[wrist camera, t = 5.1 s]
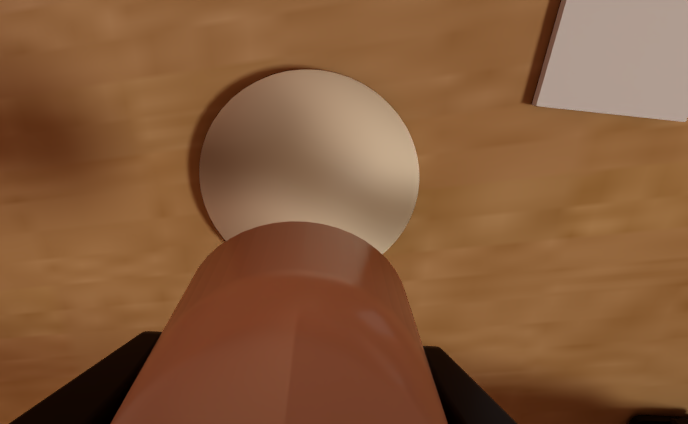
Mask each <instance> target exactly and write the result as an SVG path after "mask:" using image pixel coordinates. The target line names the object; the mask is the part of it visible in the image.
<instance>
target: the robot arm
mask: <svg viewBox="0 0 688 424" xmlns="http://www.w3.org/2000/svg"><path fill="white" fill-rule="evenodd" d="M161 333H162V332H154V331H145V332H142V333H141V334H139V335H138V336H136V337H135V338H133V339H132V340H130V341H129V342H127V343H126V344H125V345H123V346H122V347H120V348H119V349H117V350H116V351H114V352H113V353H111V354H110V355H108V356H107V357H106V358H104V359H103V360H101V361H100V362H98V363H97V364H95V365H94V366H92V367H91V368H89V369H88V370H87V371H85V372H84V373H82V374H81V375H79V376H78V377H76V378H75V379H73V380H72V381H70V382H69V383H68V384H66V385H65V386H63V387H62V388H60V389H59V390H57V391H56V392H54V393H53V394H51V395H50V396H49V397H47V398H46V399H44V400H43V401H41V402H40V403H38V404H37V405H35V406H34V407H32V408H31V409H30V410H28V411H27V412H25V413H24V414H22V415H21V416H19V417H18V418H16V419H15V420H13V421H12V422H11V423H9V424H111V422H112V420H113V418H114V416H115V415H116V413H117V411H118V409H119V408H120V406H121V404H122V402H123V401H124V399H125V397H126V395H127V393H128V392H129V390H130V388H131V386H132V385H133V383H134V381H135V379H136V378H137V376H138V374H139V372H140V370H141V369H142V367H143V365H144V363H145V362H146V360H147V358H148V356H149V355H150V353H151V351H152V349H153V347H154V346H155V344H156V342H157V340H158V339H159V337H160V335H161ZM423 348H424V351H425V354H426V357H427V360H428V363H429V367H430V370H431V373H432V376H433V379H434V382H435V385H436V388H437V391H438V394H439V397H440V400H441V404H442V407H443V410H444V413H445V416H446V419H447V422H448V424H517V423H516V422H515V421H514V420H513V419H512V418H511V417H510V416H509V415H508V414H507V413H506V412H505V411H504V410H503V409H502V408H501V407H500V406H499V405H498V404H497V403H496V402H495V401H494V400H493V399H492V398H491V397H490V396H489V395H488V394H487V393H486V392H485V391H484V390H483V389H482V388H481V387H480V386H479V385H478V384H477V383H476V382H475V381H474V380H473V379H472V378H471V377H470V376H469V375H468V374H467V373H465V372H464V371H463V370H462V369H461V368H460V367H459V366H458V365H457V364H456V363H455V362H454V361H453V360H452V359H451V358H450V357H449V356H448V355H447V354H446V353H445V352H444V351H443V350H442V349H441V348H439V347H436V346H423ZM629 424H688V417H670V416H649V415H638V416H635V417H633V418H632V419H631V420H630V422H629Z"/></svg>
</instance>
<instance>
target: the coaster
mask: <svg viewBox="0 0 688 424" xmlns="http://www.w3.org/2000/svg"><path fill="white" fill-rule="evenodd" d="M199 179H200V188H201V193H202V197H203V201H204V204H205V207H206V209H207V212H208V214H209V217H210V218H211V220H212V222H213V224H214V226H215V227H216V229H217V230H218V232H219V233H220V234H221V236H222V237H223V238H224V239H225V240H226V241H227V240H229V239H230V238H232V237H234V236H236V235H238V234H240V233H242V232H244V231H247V230H250V229H252V228H255V227H258V226H262V225H267V224H271V223H278V222H288V221H300V222H313V223H320V224H325V225H329V226H332V227H336V228H339V229H342V230H344V231H347V232H349V233H352V234H354V235H356V236H357V237H359V238H361V239H363V240H365V241H366V242H368V243H369V244H370V245H372V246H373V247H374V248H376V249H377V250H378V251H379V252H380V253H381V254H383V253H384V252H386V251H387V250H388V249H389V248H390V247H391V246H392V244H393V243H394V242H395V241H396V240H397V239H398V237H399V236H400V235H401V233H402V232H403V230H404V229H405V227H406V225H407V223H408V222H409V220H410V217H411V215H412V213H413V210H414V207H415V203H416V200H417V196H418V188H419V165H418V159H417V153H416V150H415V147H414V143H413V140H412V138H411V136H410V134H409V132H408V130H407V127H406V126H405V124H404V123H403V121H402V120H401V118H400V117H399V115H398V114H397V113H396V112H395V110H394V109H393V108H392V107H391V106H390V105H389V104H388V103H387V102H386V101H385V100H384V99H383V98H382V97H381V96H380V95H378V94H377V93H376V92H375V91H373V90H372V89H370V88H369V87H367V86H366V85H364V84H363V83H361V82H358V81H356V80H354V79H352V78H350V77H347V76H344V75H341V74H338V73H335V72H330V71H324V70H316V69H300V70H290V71H285V72H281V73H277V74H273V75H271V76H268V77H266V78H263V79H261V80H258V81H256V82H255V83H253V84H251V85H250V86H248V87H246V88H244V89H243V90H242V91H240V92H239V93H238V94H237V95H235V96H234V97H233V98H232V99H231V100H230V101H229V102H228V103H227V104H226V105H225V106H224V107H223V108H222V109H221V111H220V112H219V114H218V115H217V116H216V118H215V119H214V121H213V122H212V124H211V126H210V128H209V130H208V132H207V134H206V137H205V141H204V144H203V147H202V151H201V157H200V164H199Z"/></svg>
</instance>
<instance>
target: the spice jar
mask: <svg viewBox="0 0 688 424" xmlns="http://www.w3.org/2000/svg"><path fill="white" fill-rule="evenodd" d="M111 424H448V422H447V419H446V416H445V413H444V410H443V407H442V404H441V400H440V397H439V394H438V391H437V388H436V385H435V382H434V379H433V376H432V373H431V370H430V367H429V363H428V360H427V357H426V354H425V351H424V348H423V345H422V342H421V339H420V336H419V333H418V329H417V326H416V323H415V320H414V317H413V314H412V311H411V308H410V305H409V302H408V299H407V296H406V292H405V290H404V287H403V284H402V281H401V280H400V278H399V276H398V274H397V272H396V270H395V269H394V268H393V266H392V265H391V264H390V262H389V261H388V260H387V259H386V258H385V257H384V256H383V255H382V254H381V253H380V252H379V251H378V250H377V249H376V248H374V247H373V246H372V245H370V244H369V243H368V242H366V241H365V240H363V239H361V238H359V237H357V236H356V235H354V234H352V233H349V232H347V231H344V230H342V229H339V228H336V227H332V226H329V225H325V224H320V223H313V222H300V221H288V222H278V223H271V224H267V225H262V226H258V227H255V228H252V229H250V230H247V231H244V232H242V233H240V234H238V235H236V236H234V237H232V238H230V239H229V240H227V241H226V242H224V243H223V244H221V245H220V246H218V247H217V248H216V249H215V250H214V251H213V252H212V253H211V254H210V255H209V256H207V258H206V259H205V260H204V261H203V263H202V264H201V265H200V266H199V268H198V270H197V271H196V273H195V275H194V277H193V278H192V280H191V282H190V284H189V286H188V287H187V289H186V291H185V293H184V294H183V296H182V298H181V300H180V301H179V303H178V305H177V307H176V309H175V310H174V312H173V314H172V316H171V317H170V319H169V321H168V323H167V324H166V326H165V328H164V330H163V332H162V333H161V335H160V337H159V339H158V340H157V342H156V344H155V346H154V347H153V349H152V351H151V353H150V355H149V356H148V358H147V360H146V362H145V363H144V365H143V367H142V369H141V370H140V372H139V374H138V376H137V378H136V379H135V381H134V383H133V385H132V386H131V388H130V390H129V392H128V393H127V395H126V397H125V399H124V401H123V402H122V404H121V406H120V408H119V409H118V411H117V413H116V415H115V416H114V418H113V420H112V422H111Z"/></svg>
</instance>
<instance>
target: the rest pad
mask: <svg viewBox="0 0 688 424" xmlns="http://www.w3.org/2000/svg"><path fill="white" fill-rule="evenodd" d="M532 105H534V106H541V107H550V108H559V109H569V110H578V111H588V112H597V113H606V114H616V115H625V116H634V117H644V118H653V119H663V120H672V121H681V122H686V120H687V117H688V0H561V3H560V7H559V10H558V14H557V17H556V21H555V24H554V28H553V31H552V35H551V38H550V42H549V46H548V49H547V53H546V56H545V60H544V63H543V67H542V70H541V74H540V77H539V81H538V84H537V88H536V91H535V95H534V99H533V102H532Z"/></svg>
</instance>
